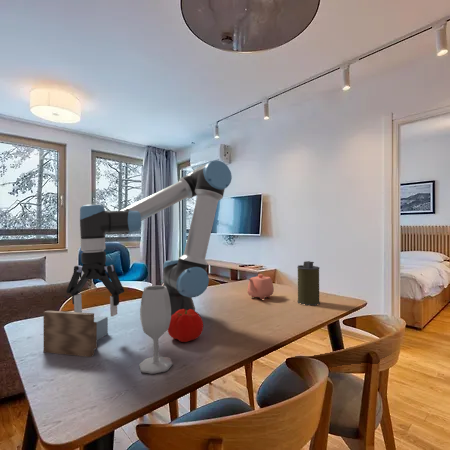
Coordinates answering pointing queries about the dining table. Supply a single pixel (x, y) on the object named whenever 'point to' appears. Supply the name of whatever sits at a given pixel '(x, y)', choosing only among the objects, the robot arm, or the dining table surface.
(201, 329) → the tomato
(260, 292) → the teapot
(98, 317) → the rail
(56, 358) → the dining table surface
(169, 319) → the wineglass
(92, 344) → the panel
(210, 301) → the dining table surface
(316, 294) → the canister
